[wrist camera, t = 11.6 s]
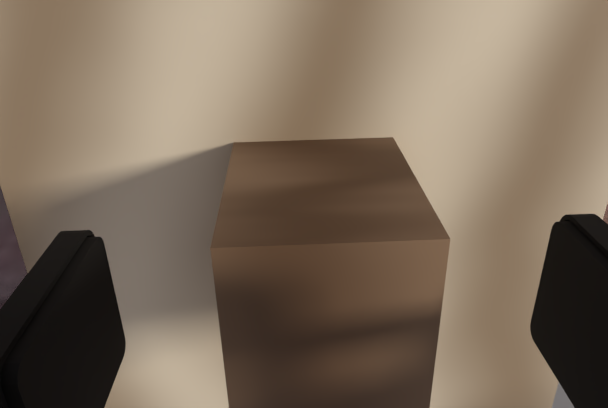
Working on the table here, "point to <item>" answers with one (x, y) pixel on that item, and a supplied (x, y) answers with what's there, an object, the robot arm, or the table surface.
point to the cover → (310, 187)
